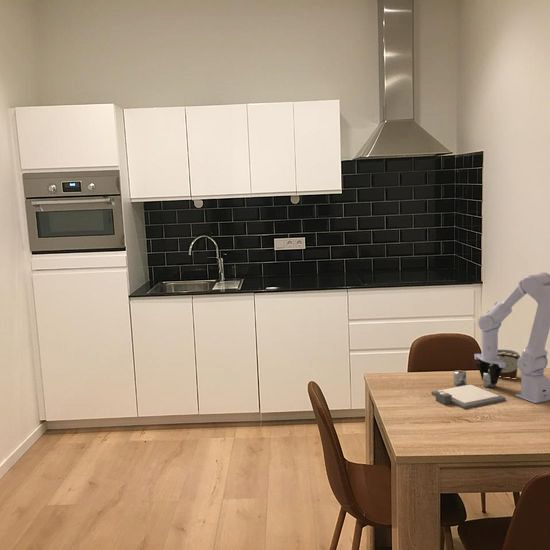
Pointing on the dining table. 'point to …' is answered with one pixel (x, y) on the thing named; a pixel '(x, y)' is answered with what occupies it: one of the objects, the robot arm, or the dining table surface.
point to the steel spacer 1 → (459, 378)
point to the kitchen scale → (467, 396)
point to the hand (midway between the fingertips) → (489, 381)
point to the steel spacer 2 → (487, 379)
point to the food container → (509, 363)
